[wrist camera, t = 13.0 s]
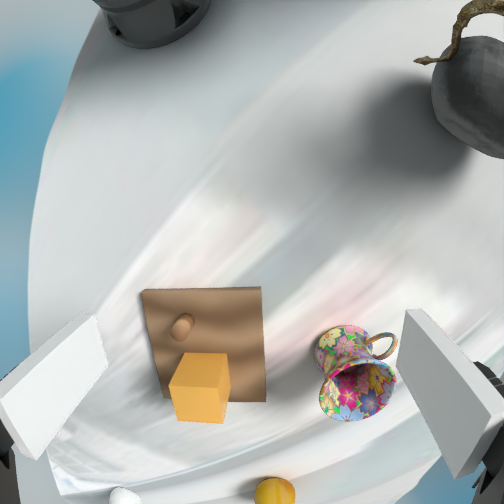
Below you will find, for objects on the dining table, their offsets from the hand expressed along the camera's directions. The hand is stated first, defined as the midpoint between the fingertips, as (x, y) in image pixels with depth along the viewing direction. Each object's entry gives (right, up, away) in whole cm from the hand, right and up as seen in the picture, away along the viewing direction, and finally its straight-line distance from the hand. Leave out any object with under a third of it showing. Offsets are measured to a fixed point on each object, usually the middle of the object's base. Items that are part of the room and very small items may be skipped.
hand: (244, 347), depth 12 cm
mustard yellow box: (-6, -13, +30) cm, 33 cm away
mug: (+14, -9, +30) cm, 34 cm away
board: (-6, -10, +31) cm, 33 cm away
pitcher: (+27, +24, +21) cm, 42 cm away
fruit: (+5, -43, +38) cm, 57 cm away
